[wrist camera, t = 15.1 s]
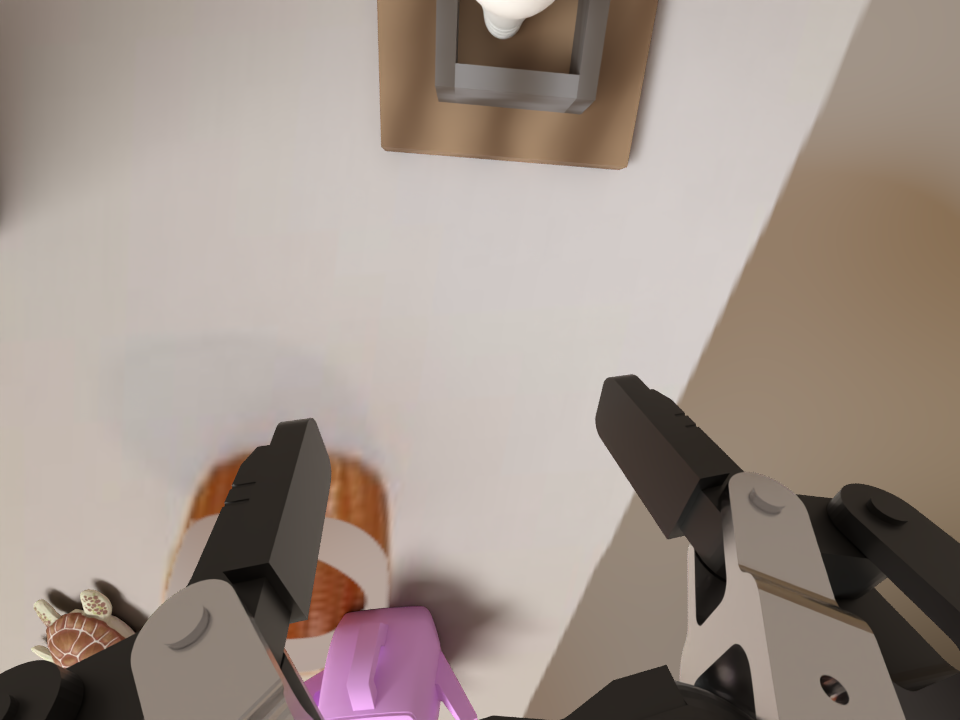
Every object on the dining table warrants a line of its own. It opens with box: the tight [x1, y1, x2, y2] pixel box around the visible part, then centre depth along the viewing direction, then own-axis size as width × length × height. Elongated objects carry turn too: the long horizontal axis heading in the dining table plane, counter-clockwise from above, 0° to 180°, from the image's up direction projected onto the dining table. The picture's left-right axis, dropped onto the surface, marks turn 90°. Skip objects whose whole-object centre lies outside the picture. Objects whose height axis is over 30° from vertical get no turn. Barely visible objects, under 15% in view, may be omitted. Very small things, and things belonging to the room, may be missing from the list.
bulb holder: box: [377, 0, 658, 170], centre depth 22 cm, size 18×16×4 cm
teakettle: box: [304, 606, 478, 720], centre depth 41 cm, size 17×17×12 cm
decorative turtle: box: [31, 589, 135, 669], centre depth 42 cm, size 18×17×5 cm
